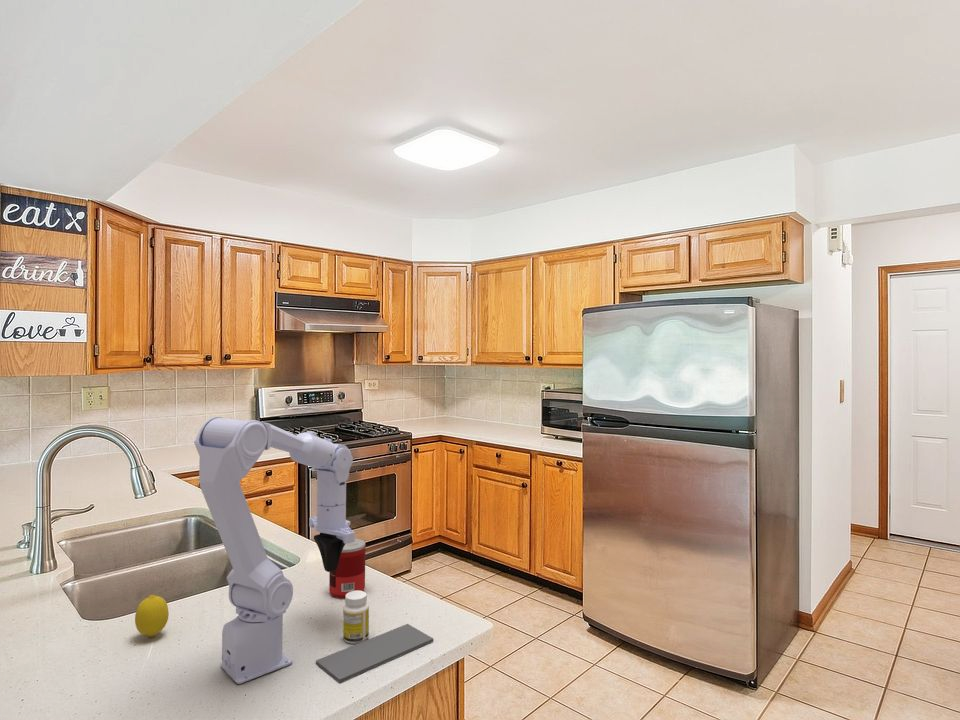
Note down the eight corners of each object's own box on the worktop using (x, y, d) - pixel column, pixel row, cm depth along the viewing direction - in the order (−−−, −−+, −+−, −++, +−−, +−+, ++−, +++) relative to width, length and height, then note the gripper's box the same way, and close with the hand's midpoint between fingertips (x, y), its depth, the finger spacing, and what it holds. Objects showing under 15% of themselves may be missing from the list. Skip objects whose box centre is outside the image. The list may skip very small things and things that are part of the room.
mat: (339, 683, 95) (339, 679, 95) (315, 663, 101) (315, 660, 101) (433, 641, 109) (433, 638, 109) (407, 626, 115) (407, 623, 115)
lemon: (127, 641, 108) (128, 598, 108) (153, 627, 113) (154, 587, 113) (149, 646, 106) (150, 603, 106) (175, 633, 111) (175, 591, 111)
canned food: (372, 589, 132) (372, 542, 132) (346, 602, 126) (347, 552, 126) (347, 582, 137) (348, 535, 136) (321, 593, 130) (322, 545, 130)
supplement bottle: (357, 629, 114) (358, 587, 113) (373, 637, 111) (374, 594, 110) (337, 639, 110) (338, 595, 110) (353, 647, 107) (354, 602, 107)
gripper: (368, 506, 114) (367, 575, 114) (330, 492, 125) (330, 555, 125) (336, 513, 109) (336, 584, 110) (300, 498, 120) (299, 563, 120)
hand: (330, 569), depth 117 cm, fingers closed
